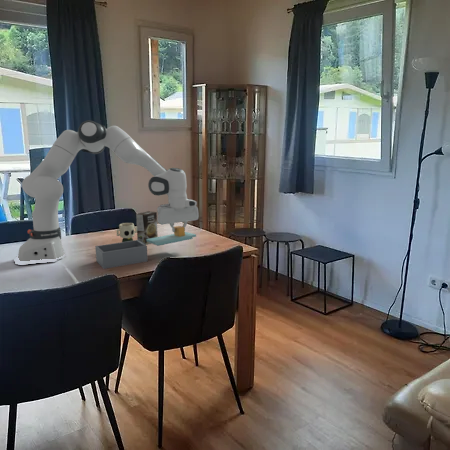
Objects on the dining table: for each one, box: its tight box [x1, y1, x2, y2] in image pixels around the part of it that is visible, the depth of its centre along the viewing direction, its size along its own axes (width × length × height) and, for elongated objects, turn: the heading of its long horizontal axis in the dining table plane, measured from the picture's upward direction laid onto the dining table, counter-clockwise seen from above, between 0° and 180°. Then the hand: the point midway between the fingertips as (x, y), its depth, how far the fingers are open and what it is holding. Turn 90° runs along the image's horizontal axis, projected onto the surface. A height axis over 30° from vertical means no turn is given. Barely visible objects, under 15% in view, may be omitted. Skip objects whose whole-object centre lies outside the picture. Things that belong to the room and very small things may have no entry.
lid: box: [146, 225, 197, 247], centre depth 210 cm, size 20×12×6 cm, turn 120°
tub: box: [94, 239, 149, 270], centre depth 200 cm, size 20×12×8 cm, turn 120°
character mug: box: [116, 222, 137, 242], centre depth 220 cm, size 11×7×13 cm, turn 127°
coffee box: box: [135, 210, 159, 246], centre depth 232 cm, size 9×6×16 cm
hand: (178, 231), depth 212 cm, fingers closed on lid, 3 cm apart
